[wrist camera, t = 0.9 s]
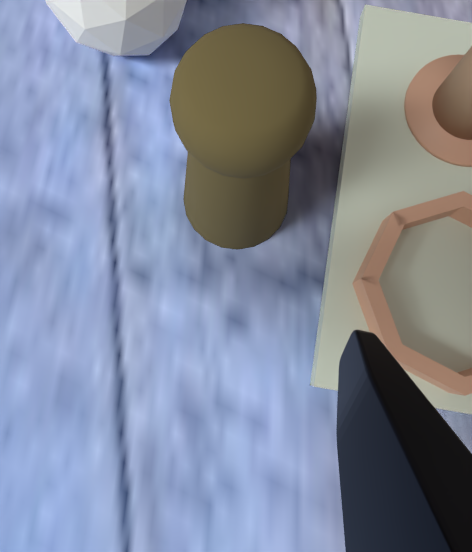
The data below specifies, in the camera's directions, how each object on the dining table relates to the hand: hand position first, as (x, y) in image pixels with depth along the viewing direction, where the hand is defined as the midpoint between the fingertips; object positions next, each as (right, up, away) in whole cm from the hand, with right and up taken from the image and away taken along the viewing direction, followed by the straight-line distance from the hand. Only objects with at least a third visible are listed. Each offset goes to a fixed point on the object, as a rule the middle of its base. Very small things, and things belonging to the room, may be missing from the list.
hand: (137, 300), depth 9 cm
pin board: (+14, +5, +16) cm, 22 cm away
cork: (+2, +5, +16) cm, 17 cm away
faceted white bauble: (-4, +18, +18) cm, 25 cm away
